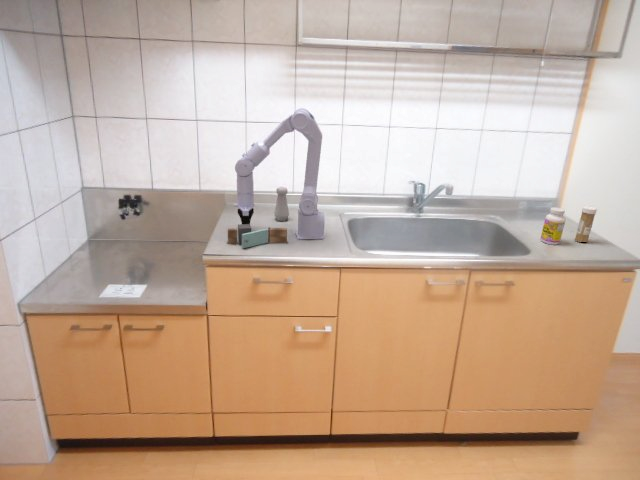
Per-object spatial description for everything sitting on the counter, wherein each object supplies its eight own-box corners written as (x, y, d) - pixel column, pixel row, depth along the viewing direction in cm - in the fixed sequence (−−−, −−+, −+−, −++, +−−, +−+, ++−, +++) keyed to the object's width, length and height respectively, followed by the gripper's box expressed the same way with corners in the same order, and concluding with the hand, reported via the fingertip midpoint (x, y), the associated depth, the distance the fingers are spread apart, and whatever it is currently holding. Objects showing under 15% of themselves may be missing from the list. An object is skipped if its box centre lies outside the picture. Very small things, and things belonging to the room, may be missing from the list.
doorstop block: (249, 240, 157) (249, 223, 155) (251, 244, 154) (251, 227, 151) (238, 240, 156) (237, 224, 154) (239, 245, 153) (239, 228, 150)
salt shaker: (290, 217, 181) (290, 186, 176) (287, 222, 176) (288, 190, 171) (275, 216, 182) (276, 185, 177) (272, 221, 176) (273, 189, 172)
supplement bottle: (535, 239, 170) (543, 207, 166) (549, 238, 173) (557, 205, 168) (549, 246, 165) (558, 212, 160) (563, 244, 167) (572, 211, 162)
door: (266, 241, 156) (266, 228, 154) (268, 243, 154) (268, 230, 153) (241, 247, 150) (241, 234, 148) (244, 249, 149) (244, 235, 147)
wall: (286, 241, 158) (286, 226, 156) (287, 243, 156) (287, 228, 154) (228, 242, 154) (227, 227, 152) (228, 244, 153) (227, 229, 151)
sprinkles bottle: (587, 244, 168) (597, 210, 163) (573, 241, 170) (583, 207, 165) (587, 240, 172) (597, 207, 167) (574, 238, 174) (583, 204, 169)
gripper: (234, 186, 164) (235, 222, 169) (233, 198, 151) (234, 235, 156) (253, 186, 165) (254, 221, 170) (254, 198, 152) (254, 235, 157)
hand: (245, 228), depth 163 cm, fingers closed
